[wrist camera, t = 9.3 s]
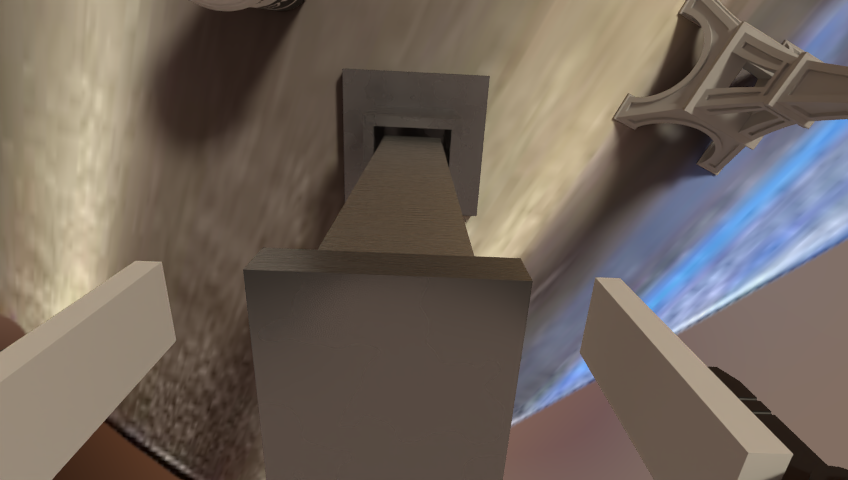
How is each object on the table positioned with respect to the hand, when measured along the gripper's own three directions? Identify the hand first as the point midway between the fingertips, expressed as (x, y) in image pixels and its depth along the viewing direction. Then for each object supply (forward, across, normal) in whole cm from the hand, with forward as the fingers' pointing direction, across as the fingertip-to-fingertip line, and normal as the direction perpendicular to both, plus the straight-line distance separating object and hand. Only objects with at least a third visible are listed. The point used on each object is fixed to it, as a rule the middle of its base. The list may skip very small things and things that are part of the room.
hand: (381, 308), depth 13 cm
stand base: (+34, +1, 0) cm, 34 cm away
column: (+23, +1, 0) cm, 24 cm away
